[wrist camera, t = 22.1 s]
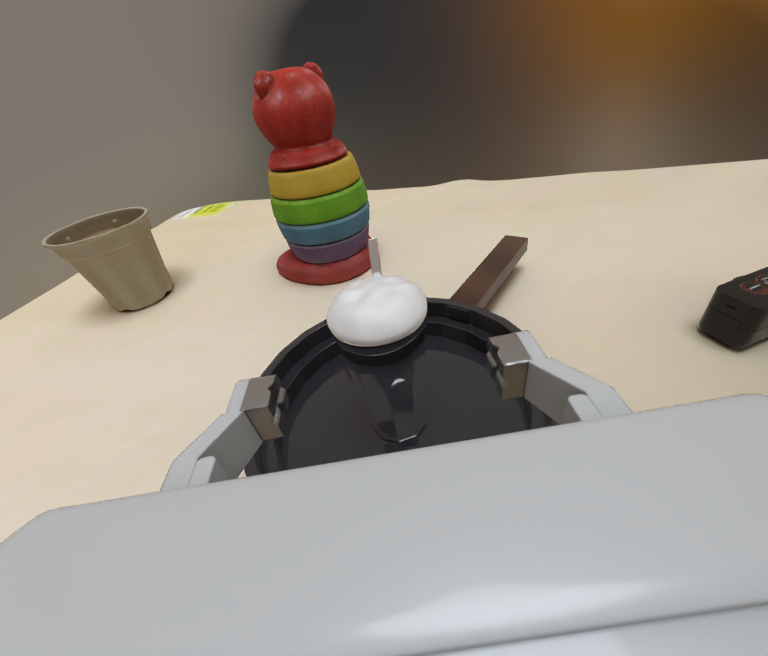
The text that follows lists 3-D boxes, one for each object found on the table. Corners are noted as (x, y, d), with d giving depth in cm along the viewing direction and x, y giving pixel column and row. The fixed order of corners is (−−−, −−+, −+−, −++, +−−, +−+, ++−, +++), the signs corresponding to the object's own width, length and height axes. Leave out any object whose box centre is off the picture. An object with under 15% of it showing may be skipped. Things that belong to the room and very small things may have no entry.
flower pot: (159, 270, 46) (117, 204, 40) (205, 280, 41) (165, 207, 36) (84, 313, 39) (24, 241, 34) (130, 329, 35) (68, 250, 30)
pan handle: (471, 324, 25) (471, 310, 24) (445, 317, 26) (444, 304, 25) (527, 250, 31) (528, 237, 31) (504, 247, 32) (505, 235, 32)
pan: (373, 308, 31) (366, 279, 29) (590, 371, 22) (600, 335, 20) (204, 464, 21) (178, 435, 19) (473, 699, 12) (472, 686, 10)
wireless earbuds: (823, 317, 22) (857, 273, 20) (736, 355, 21) (764, 311, 19) (742, 284, 26) (764, 244, 24) (664, 315, 25) (681, 275, 23)
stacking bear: (348, 234, 45) (307, 61, 34) (401, 254, 38) (372, 48, 27) (272, 269, 40) (198, 83, 29) (318, 300, 34) (243, 73, 23)
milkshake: (434, 376, 23) (419, 232, 17) (442, 450, 19) (426, 294, 13) (365, 382, 24) (327, 244, 17) (358, 455, 19) (304, 308, 13)
